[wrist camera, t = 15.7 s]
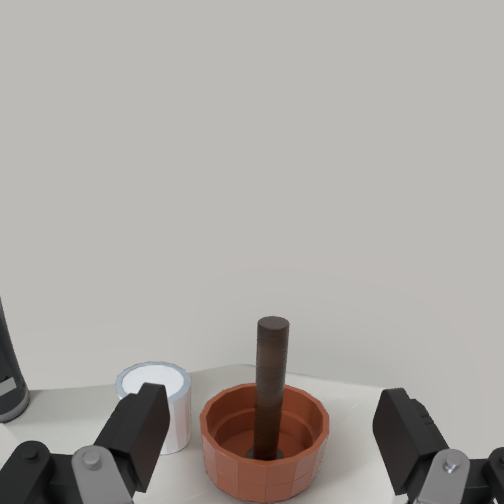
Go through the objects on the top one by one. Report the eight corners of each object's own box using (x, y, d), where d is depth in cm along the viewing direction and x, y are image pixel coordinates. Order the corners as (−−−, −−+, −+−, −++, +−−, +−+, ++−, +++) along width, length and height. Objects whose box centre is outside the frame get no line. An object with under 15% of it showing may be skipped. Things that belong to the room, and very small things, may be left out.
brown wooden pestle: (256, 482, 20) (264, 338, 17) (239, 458, 23) (239, 317, 20) (289, 468, 22) (309, 326, 19) (270, 447, 25) (281, 309, 22)
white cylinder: (118, 426, 26) (103, 373, 25) (173, 405, 31) (166, 353, 29) (150, 469, 21) (134, 415, 20) (211, 440, 26) (207, 386, 24)
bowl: (246, 524, 16) (246, 486, 15) (186, 449, 24) (179, 403, 23) (340, 468, 22) (355, 424, 21) (273, 415, 30) (276, 370, 29)
